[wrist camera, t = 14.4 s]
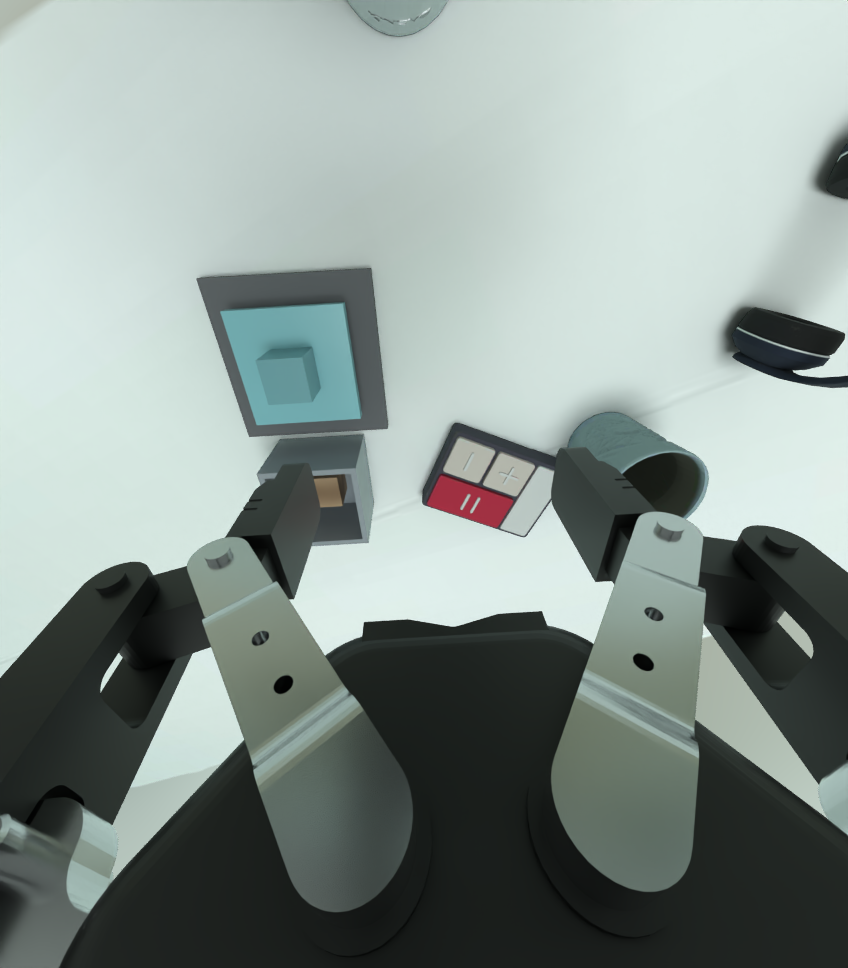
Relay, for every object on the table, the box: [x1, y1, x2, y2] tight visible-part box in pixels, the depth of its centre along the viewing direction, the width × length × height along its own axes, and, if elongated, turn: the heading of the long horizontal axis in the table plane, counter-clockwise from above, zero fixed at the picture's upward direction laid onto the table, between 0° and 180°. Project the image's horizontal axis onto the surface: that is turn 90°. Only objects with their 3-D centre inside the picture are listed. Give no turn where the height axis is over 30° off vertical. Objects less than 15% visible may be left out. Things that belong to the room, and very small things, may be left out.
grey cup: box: [568, 412, 709, 519], centre depth 41 cm, size 10×10×12 cm
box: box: [257, 435, 374, 546], centre depth 43 cm, size 10×10×8 cm
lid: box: [220, 302, 362, 425], centre depth 35 cm, size 11×11×7 cm
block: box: [313, 474, 347, 507], centre depth 44 cm, size 4×4×4 cm
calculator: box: [422, 423, 556, 537], centre depth 46 cm, size 11×4×15 cm
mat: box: [197, 268, 388, 437], centre depth 39 cm, size 16×16×1 cm
